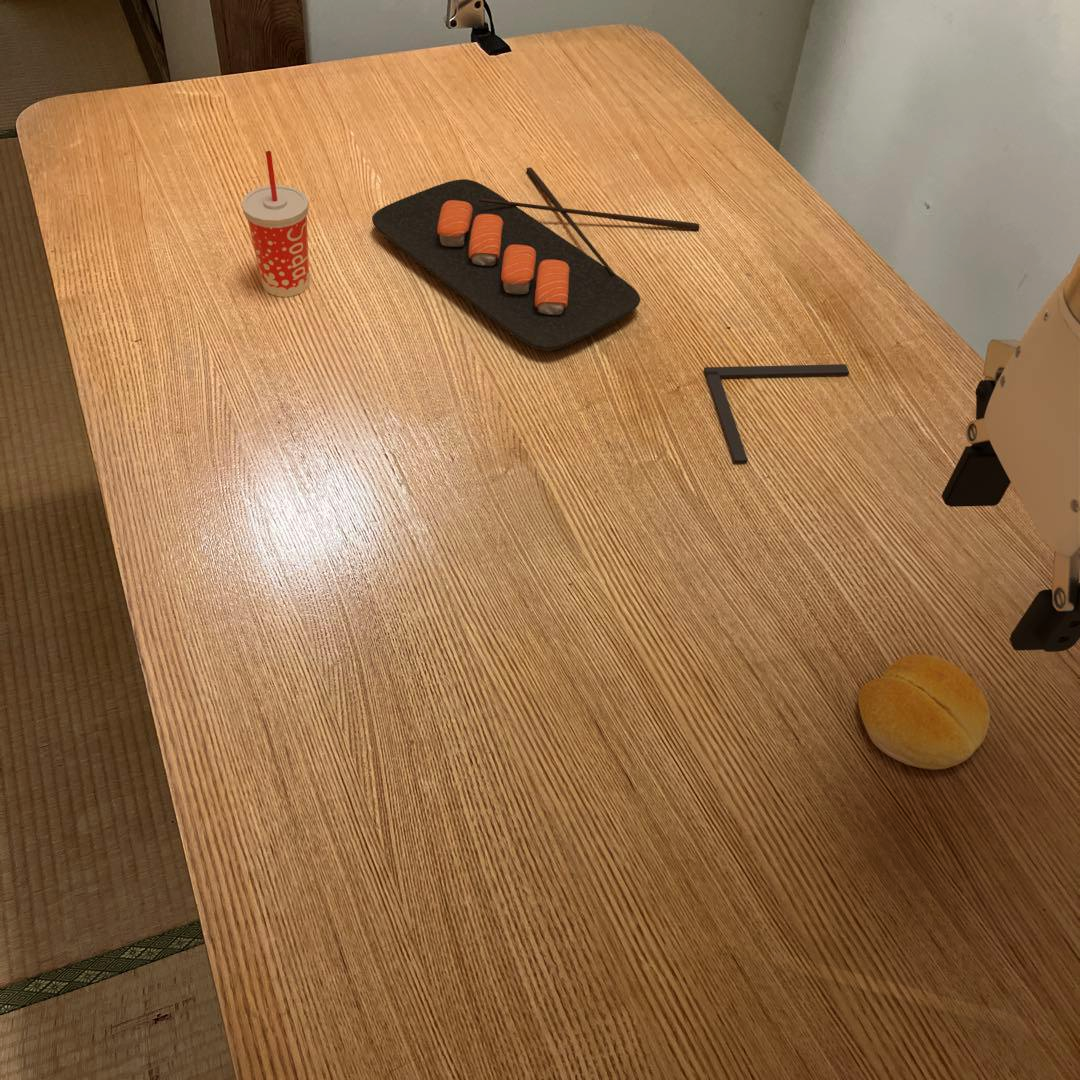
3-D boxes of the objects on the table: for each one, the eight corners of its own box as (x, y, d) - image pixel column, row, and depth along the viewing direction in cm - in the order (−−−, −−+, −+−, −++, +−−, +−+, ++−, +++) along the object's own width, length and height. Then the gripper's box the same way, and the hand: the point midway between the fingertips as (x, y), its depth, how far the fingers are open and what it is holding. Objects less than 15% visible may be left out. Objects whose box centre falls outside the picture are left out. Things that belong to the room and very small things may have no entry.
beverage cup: (272, 308, 104) (252, 176, 94) (243, 276, 107) (221, 145, 97) (328, 289, 107) (315, 158, 96) (299, 258, 110) (283, 129, 100)
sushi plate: (360, 230, 114) (358, 198, 111) (568, 147, 128) (571, 117, 125) (542, 372, 101) (545, 339, 98) (752, 261, 115) (759, 230, 112)
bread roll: (833, 715, 77) (849, 683, 74) (911, 655, 81) (929, 623, 78) (925, 798, 73) (945, 769, 70) (1002, 731, 77) (1024, 700, 74)
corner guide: (844, 368, 104) (845, 363, 103) (886, 459, 96) (888, 455, 95) (703, 371, 102) (704, 366, 102) (733, 464, 94) (734, 460, 93)
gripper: (1381, 441, 38) (1145, 707, 51) (1153, 184, 50) (1006, 454, 62) (1186, 444, 37) (995, 713, 50) (999, 182, 49) (882, 455, 61)
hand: (1002, 569), depth 56 cm, fingers open, 9 cm apart
